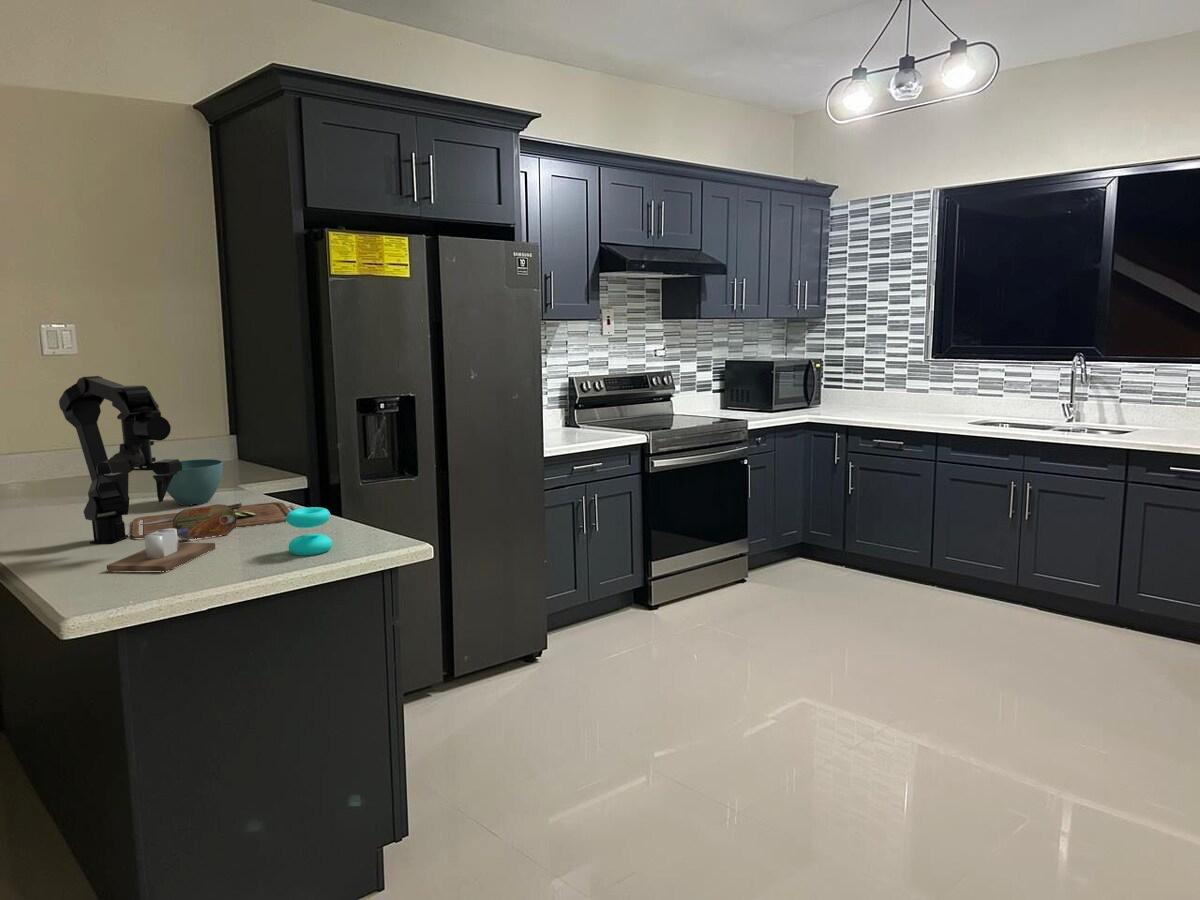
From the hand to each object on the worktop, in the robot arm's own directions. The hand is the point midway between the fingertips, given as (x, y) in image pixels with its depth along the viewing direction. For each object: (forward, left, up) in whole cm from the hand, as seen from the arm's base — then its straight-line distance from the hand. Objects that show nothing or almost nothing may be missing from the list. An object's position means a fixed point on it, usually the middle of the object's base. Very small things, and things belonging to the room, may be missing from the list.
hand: (143, 501), depth 209 cm
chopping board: (-1, +30, -13) cm, 33 cm away
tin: (+8, +12, -12) cm, 19 cm away
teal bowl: (-21, +54, -12) cm, 59 cm away
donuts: (+42, 0, -12) cm, 44 cm away
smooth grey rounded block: (+10, -9, -10) cm, 17 cm away
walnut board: (+10, -9, -12) cm, 18 cm away
